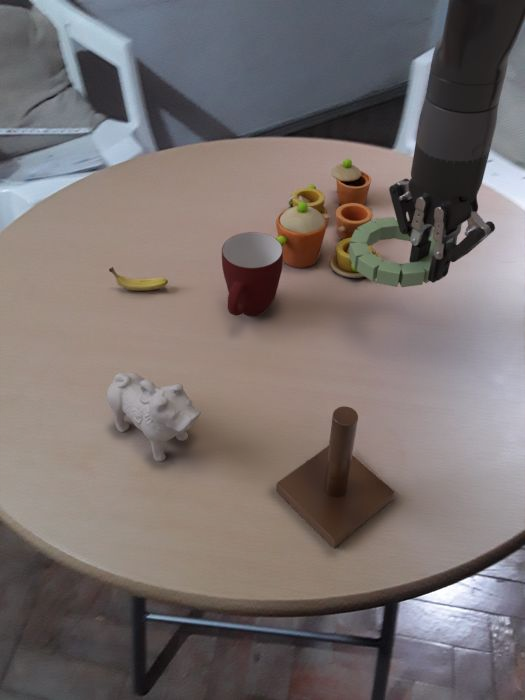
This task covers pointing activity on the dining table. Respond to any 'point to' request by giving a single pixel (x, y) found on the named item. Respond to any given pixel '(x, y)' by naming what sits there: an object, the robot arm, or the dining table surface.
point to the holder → (336, 485)
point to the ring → (379, 268)
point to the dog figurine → (151, 409)
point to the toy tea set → (310, 221)
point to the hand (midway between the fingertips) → (426, 273)
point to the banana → (139, 282)
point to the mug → (251, 272)
